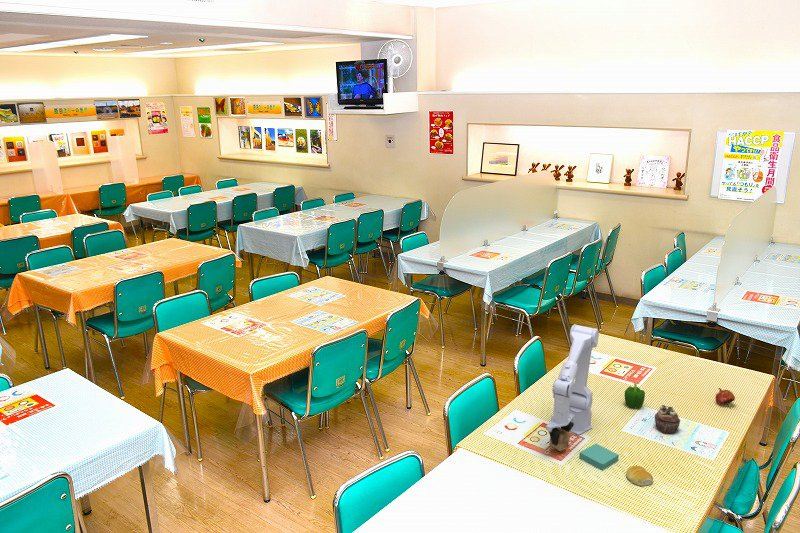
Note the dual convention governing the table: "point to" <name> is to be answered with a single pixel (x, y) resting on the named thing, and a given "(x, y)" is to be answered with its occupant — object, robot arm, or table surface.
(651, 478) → the bread roll
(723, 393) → the pomegranate
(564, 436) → the walnut block
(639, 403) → the bell pepper
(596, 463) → the teal base
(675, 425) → the cupcake
